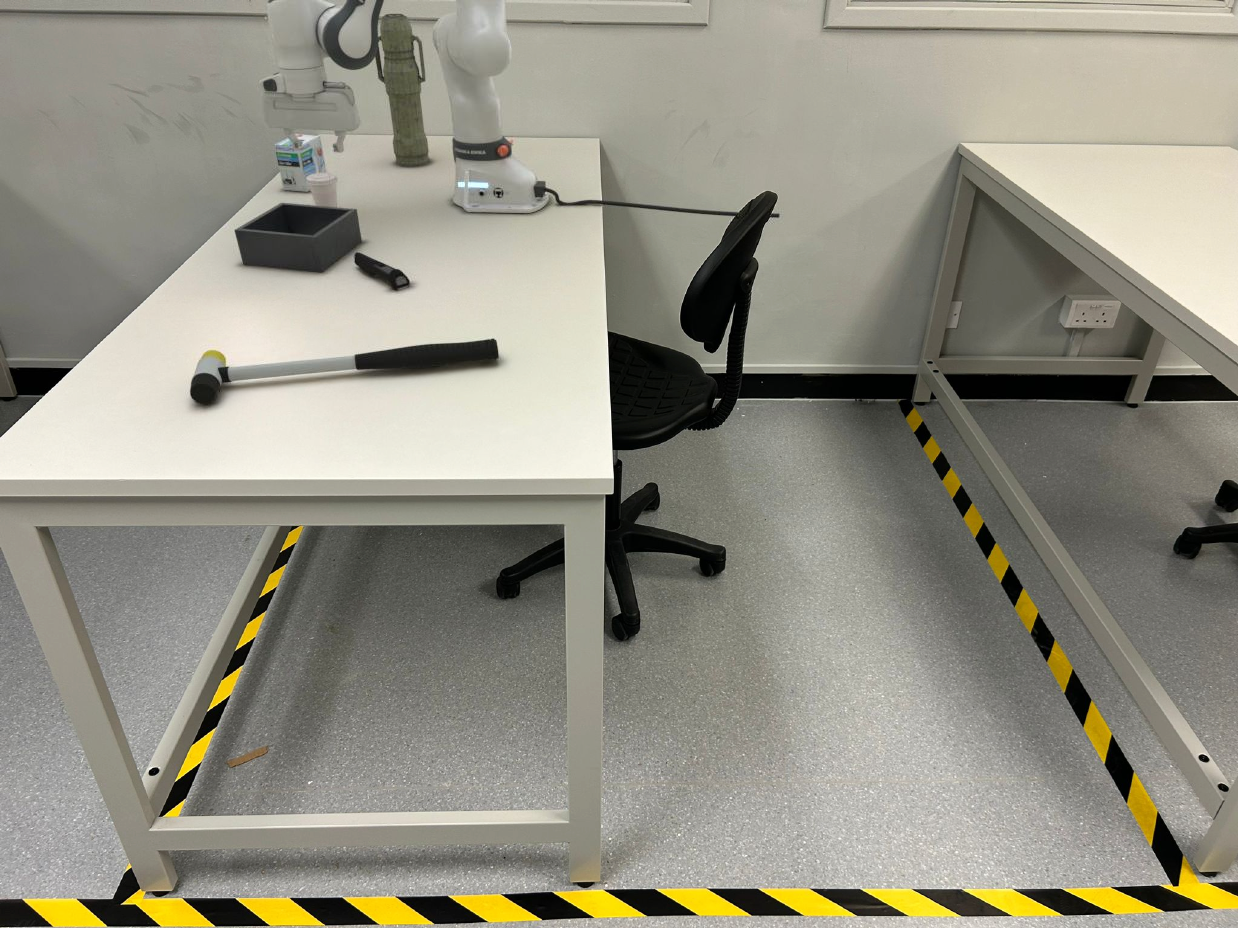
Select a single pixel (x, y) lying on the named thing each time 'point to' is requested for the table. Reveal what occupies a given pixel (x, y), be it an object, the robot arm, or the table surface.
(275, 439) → the table surface
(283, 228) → the basin
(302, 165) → the light bulb box
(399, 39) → the thermos
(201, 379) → the hammer
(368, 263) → the electric trimmer
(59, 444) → the table surface
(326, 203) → the smoothie
